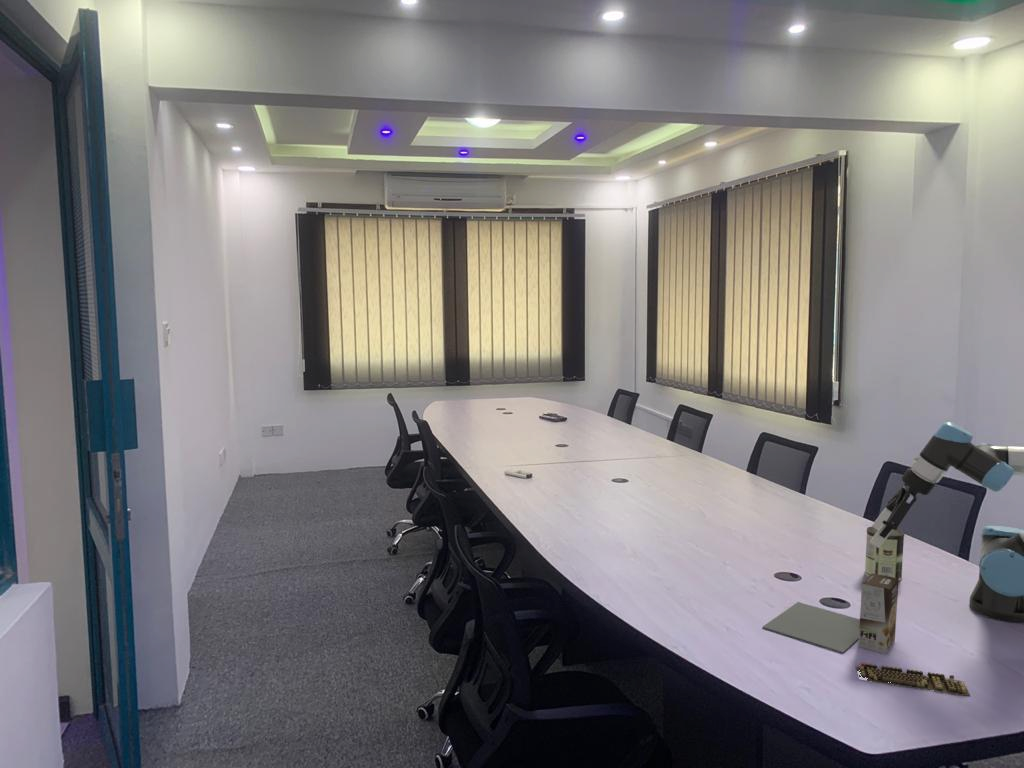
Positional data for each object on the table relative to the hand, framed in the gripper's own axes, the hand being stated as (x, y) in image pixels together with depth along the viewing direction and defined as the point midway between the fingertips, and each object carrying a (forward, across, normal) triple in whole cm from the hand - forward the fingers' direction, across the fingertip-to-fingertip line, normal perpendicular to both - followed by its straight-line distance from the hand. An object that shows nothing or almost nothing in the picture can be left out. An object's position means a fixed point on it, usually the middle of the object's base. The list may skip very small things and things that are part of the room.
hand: (875, 536), depth 202 cm
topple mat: (+21, +24, -1) cm, 32 cm away
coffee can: (+17, -24, +12) cm, 32 cm away
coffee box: (+15, +28, +11) cm, 33 cm away
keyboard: (+11, +43, +17) cm, 48 cm away
